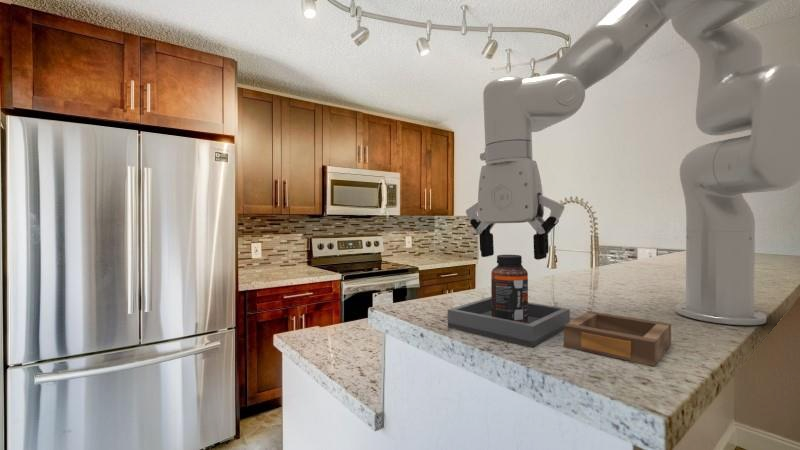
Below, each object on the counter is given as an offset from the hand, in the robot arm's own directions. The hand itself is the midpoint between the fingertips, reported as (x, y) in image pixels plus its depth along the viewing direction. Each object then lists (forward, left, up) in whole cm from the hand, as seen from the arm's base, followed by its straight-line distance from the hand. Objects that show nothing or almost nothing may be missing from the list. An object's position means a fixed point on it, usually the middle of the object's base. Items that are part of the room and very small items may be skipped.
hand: (512, 257), depth 64 cm
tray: (+1, -1, -12) cm, 12 cm away
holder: (-1, +15, -12) cm, 20 cm away
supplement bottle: (+1, 0, -11) cm, 11 cm away
